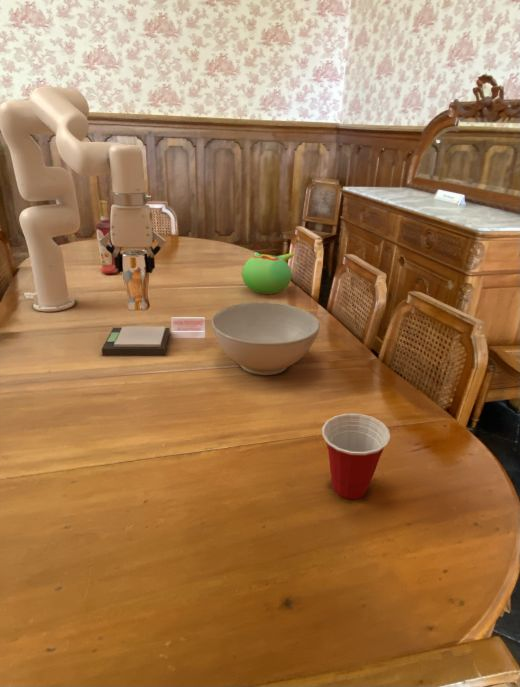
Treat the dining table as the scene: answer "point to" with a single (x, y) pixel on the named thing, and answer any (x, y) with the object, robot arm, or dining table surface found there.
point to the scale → (137, 340)
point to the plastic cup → (354, 451)
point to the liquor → (103, 230)
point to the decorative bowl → (265, 335)
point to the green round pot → (267, 273)
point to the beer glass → (136, 279)
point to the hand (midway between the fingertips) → (135, 270)
